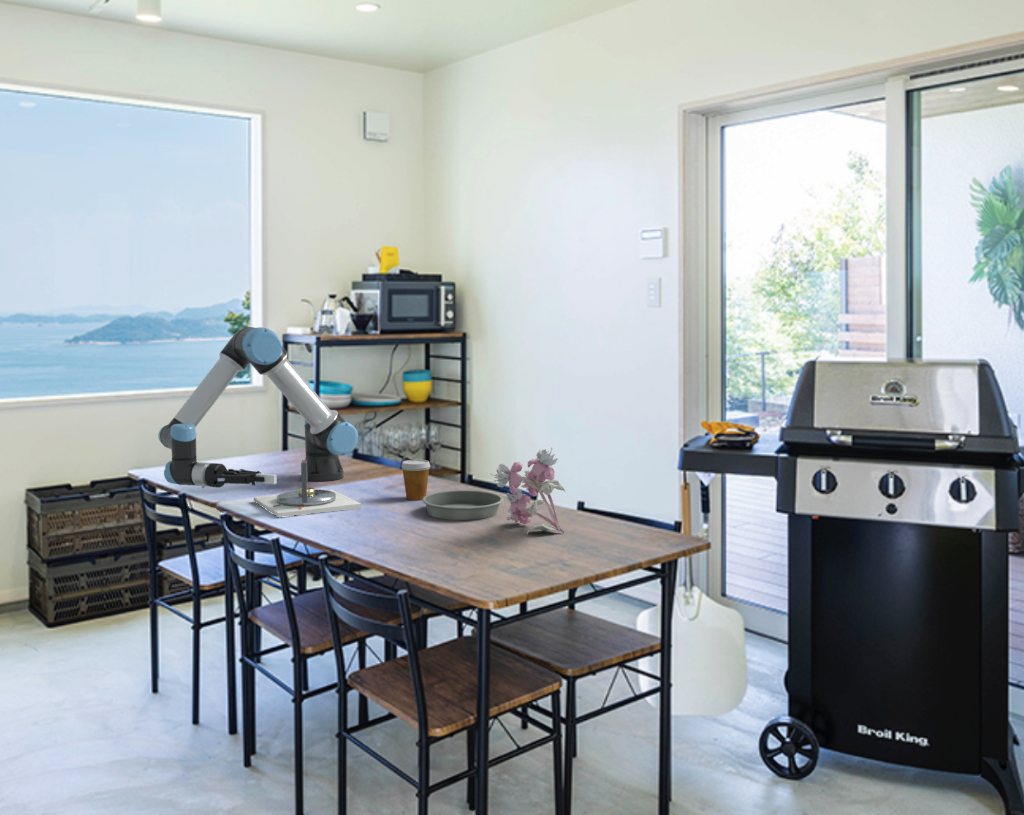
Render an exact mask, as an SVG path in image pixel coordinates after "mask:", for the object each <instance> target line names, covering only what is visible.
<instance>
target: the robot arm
mask: <svg viewBox="0 0 1024 815" xmlns="http://www.w3.org/2000/svg"><path fill="white" fill-rule="evenodd" d="M218 356H219V359H218V360H217V361H216V363H215V364H214V365H213V366H212V368H211V369H210V370H209V372H208V373H207V374H206V375H205V377H204V378H203V379H202V380H201V381H200V383H199V385H197V387H196V389H194V391H193V392H192V393H191V395H190V396H189V398H188V399H187V400H186V401H185V403H184V404H183V405H182V407H181V408H180V409H179V410H178V412H177V413H176V414H175V416H174V417H173V418H172V419H171V420H170V421H169V423H168V424H166V425H164V426H162V427H161V428H160V429H159V432H158V441H159V442H160V443H161V445H163V446H164V447H165V448H167V449H170V450H171V460H169V461H168V462H166V464H165V466H164V470H163V477H164V479H165V481H166V482H167V483H169V484H173V485H178V486H198V487H201V488H202V489H204V488H205V487H210V488H222V487H223V486H224V485H225V484H231V485H232V484H233V485H234V484H239V485H240V484H241V485H242V484H243V485H244V484H246V485H249V484H251V486H256V484H266V485H276V484H278V482H277V480H278V478H277V476H278V475H277V474H273V473H271V474H270V473H262V472H261V471H260V470H247V469H244V468H240V469H233V468H228V469H227V467H226V466H225V465H224V464H223V463H216V462H215V463H214V462H204V461H203V462H202V461H199V462H198V461H197V459H198V458H197V457H198V456H197V433H196V427H198V426H199V424H200V423H201V421H202V420H203V419H204V417H205V416H206V415H207V413H208V412H209V411H210V410H211V408H212V407H213V406H214V405H215V403H216V401H217V400H218V399H219V398H220V396H221V395H222V394H223V392H225V390H226V389H227V387H228V386H229V384H231V382H233V379H235V377H236V376H237V374H238V373H239V372H243V371H244V370H245V369H246V368H247V367H248V366H249V365H251V366H252V367H253V369H255V371H256V372H257V373H258V374H259V375H260V376H261V375H263V376H267V377H268V379H269V380H270V381H271V382H272V383H273V384H274V385H275V387H276V388H277V389H278V390H279V391H280V392H281V394H283V396H284V397H285V398H286V400H288V402H290V404H291V405H292V406H293V407H294V408H295V409H296V411H297V412H298V413H299V414H300V415H301V416H302V418H303V419H304V440H305V441H304V442H305V443H304V445H305V446H304V447H305V458H304V460H307V474H308V482H309V481H310V482H327V481H335V480H340V479H343V478H344V469H343V468H344V467H343V465H342V462H341V460H340V456H345V455H346V456H347V455H348V454H350V453H351V452H353V451H354V450H355V449H356V446H357V444H358V441H359V432H358V430H357V429H356V427H355V425H353V424H352V423H350V422H348V421H346V420H345V419H344V418H343V417H342V415H341V414H340V413H339V412H338V411H337V410H335V409H330V408H329V407H328V406H327V404H326V403H325V402H324V401H323V400H322V398H321V397H320V395H319V394H317V393H316V392H315V390H314V389H313V388H312V387H311V386H310V384H309V383H308V382H307V381H306V380H305V379H304V377H303V376H302V375H301V373H300V372H299V371H298V370H297V369H296V367H294V365H293V364H292V363H291V361H289V359H288V351H287V350H286V348H284V346H283V343H282V340H281V338H280V337H279V335H278V334H277V333H276V332H275V331H273V330H271V329H269V328H266V327H261V326H260V327H259V326H258V327H252V326H246V327H243V328H241V329H239V330H238V331H237V332H235V333H234V334H233V335H232V337H231V338H230V339H229V340H228V341H227V343H226V345H225V346H224V347H223V348H222V350H221V351H220V353H219V354H218Z"/></svg>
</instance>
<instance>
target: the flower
mask: <svg viewBox="0 0 1024 815" xmlns="http://www.w3.org/2000/svg"><path fill="white" fill-rule="evenodd" d="M550 449H551V450H550V451H549V450H548V451H547V449H542V450H541V449H539V450H538V451H537V452H536V455H535V456H536V458H531V459H529V461H527V468H531V469H526V470H524V471H523V472H524V473H525V474H524V475H520V474H519V472H521V471H522V469H523V467H524V465H523V464H522V463H521V462H520V461H515V462H514V463H512V465H511V467H510V468H509V467H508V466H507V464H505V463H500V464H498V467H497V468H496V470H495V471H496V474H493V473H489V475H491V476H494V479H497V480H493V481H494V483H496V482H497V483H496V486H497V487H498V488H504V487H505V486H506V485H507V484H508V487H509V489H508V490H509V491H510V493H509V492H507V493H506V499H507V501H508V502H509V503H510V506H509V507H510V508H508V510H507V513H509V516H507V517H506V520H507V521H511V520H512V521H514V523H513V525H516V524H518V523H519V524H521V525H527V524H529V523H531V519H530V518H533V516H538V517H539V518H541V519H542V520H544V521H545V522H547V523H549V524H550V525H551V526H550V525H548V524H544V523H540V524H537V525H534V526H532V527H530V528H528V529H527V532H526V535H528V534H529V532H530V531H534V530H540V531H542V532H547V531H556V532H560V533H562V534H565V531H564V530H563V529H562V528H561V527H560V525H559V521H558V520H559V519H558V515H557V512H556V508H555V505H554V501H553V498H552V496H551V494H552V493H553V491H554V489H556V490H559V491H564V492H566V490H565V488H564V487H563V486H562V485H561V483H560V482H559V480H557V479H555V477H556V476H555V473H556V472H555V470H554V467H553V465H556V463H557V461H558V458H554V456H555V454H551V453H552V451H553V447H551V448H550ZM531 466H532V467H531ZM521 484H523V485H521ZM519 487H520V488H523V489H524V488H526V491H528V494H529V495H530V496H532V497H538V496H539V495H540V496H541V499H535V500H534V502H533V503H532V504H531V506H530V507H528V508H527V506H528V504H530V503H531V497H530V496H529V495H527V494H525V493H523V492H522V490H521V489H520V488H519ZM538 493H539V494H538ZM545 495H546V496H547V498H548V500H549V502H548V500H547V498H546V497H545ZM549 503H550V504H549ZM543 504H545V505H546V507H547V511H548V512H549V514H550V516H551V518H552V520H551V519H550V518H548V517H547V516H545V515H543V514H541V513H539V512H538V506H540V505H543ZM552 526H553V527H552Z"/></svg>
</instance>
